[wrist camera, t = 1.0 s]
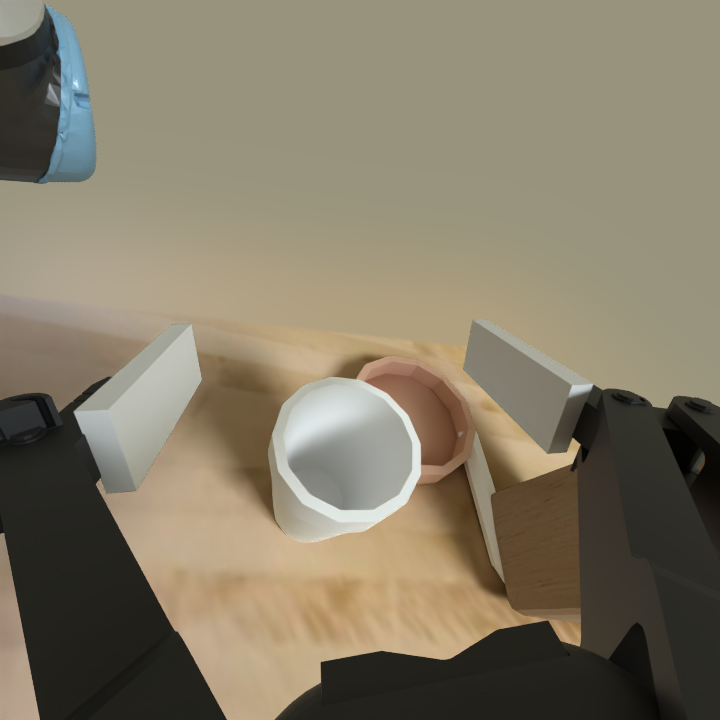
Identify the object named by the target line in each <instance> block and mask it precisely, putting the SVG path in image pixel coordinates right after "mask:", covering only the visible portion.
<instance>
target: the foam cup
mask: <svg viewBox="0 0 720 720" xmlns="http://www.w3.org/2000/svg"><path fill="white" fill-rule="evenodd" d="M268 458H269V465H270V471H271V478H272V498H273V507H274V514H275V521H276V522H277V523H278V525H279V526H280V528H281V529H282V531H283V532H284V534H285V535H287V536H289V537H291V538H293V539H295V540H297V541H299V542H317V541H322V540H325V539H328V538H332V537H335V536H338V535H342V534H345V533H348V532H364V531H365V530H367V529H369V528H370V527H372V526H373V525H375V524H377V523H378V522H380V521H381V520H383V519H384V518H386V517H388V516H389V515H391V514H392V513H394V512H395V511H396V510H398V509H399V508H401V507H402V506H403V505H405V504H406V503H407V501H408V499H409V497H410V495H411V493H412V491H413V489H414V487H415V485H416V483H417V481H418V479H419V477H420V475H421V443H420V441H419V439H418V437H417V434H416V432H415V430H414V427H413V425H412V423H411V420H410V418H409V416H408V415H407V414H406V412H405V411H404V410H403V409H402V408H401V407H400V406H399V405H398V404H397V403H396V402H395V401H394V400H393V399H392V398H391V397H390V396H389V395H388V394H387V393H385V392H383V391H381V390H380V389H378V388H376V387H374V386H372V385H370V384H368V383H366V382H364V381H362V380H357V379H348V378H340V377H329V378H325V379H322V380H318V381H315V382H311V383H308V384H304V385H303V386H302V387H301V388H300V389H299V390H298V391H297V392H296V393H294V394H293V395H292V396H291V397H290V398H289V399H288V400H287V401H286V402H285V403H283V404H282V407H281V410H280V413H279V416H278V419H277V422H276V425H275V428H274V430H273V433H272V437H271V440H270V444H269V448H268Z"/></svg>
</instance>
